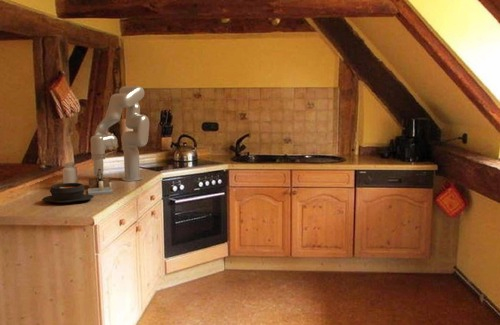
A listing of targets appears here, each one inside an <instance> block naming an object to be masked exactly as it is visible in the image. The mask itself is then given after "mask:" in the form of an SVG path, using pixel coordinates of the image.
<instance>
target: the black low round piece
mask: <svg viewBox="0 0 500 325" xmlns="http://www.w3.org/2000/svg"><path fill="white" fill-rule="evenodd" d="M85 189H86V187H85V186H84V184H83V183H80V182H78V183H63V182H62V183H58V184H54V185H52V186H51V187H50V189H49V193H50V194H51V195H48V196H45V197H43V198H42V199H41V201H43V202H51V203H56V204H60V205H63V204H74V203H79V202H82V201H89V200H92V199H93V198H94V197H95V195H88V193H87V194H85V193H84V192H85Z"/></svg>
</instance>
